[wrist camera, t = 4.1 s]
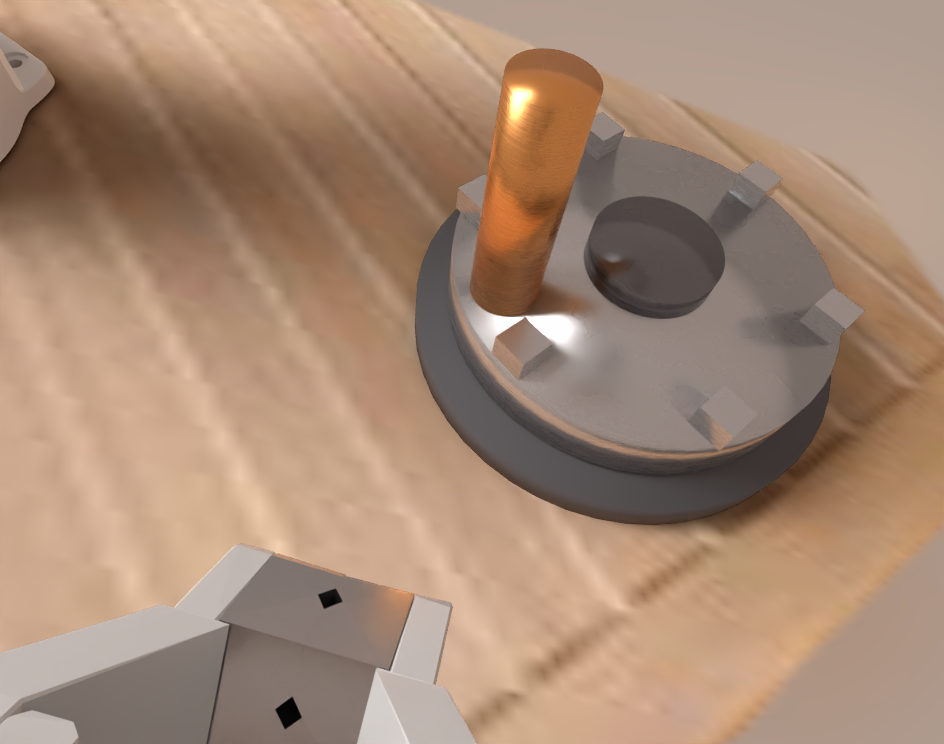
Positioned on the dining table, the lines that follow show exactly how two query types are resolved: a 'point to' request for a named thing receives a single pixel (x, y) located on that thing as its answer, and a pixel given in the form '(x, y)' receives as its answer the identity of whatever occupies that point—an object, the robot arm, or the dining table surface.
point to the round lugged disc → (633, 286)
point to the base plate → (567, 474)
